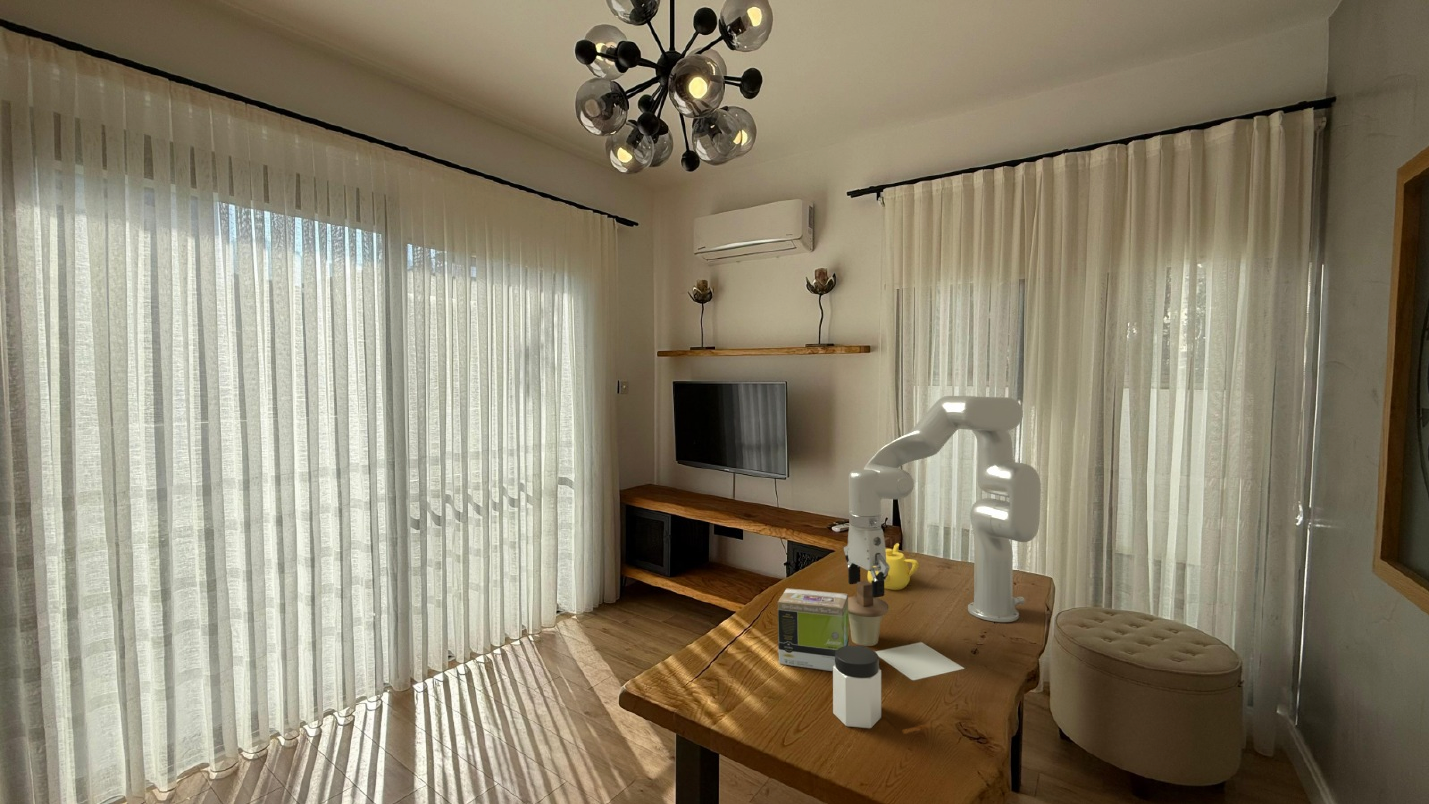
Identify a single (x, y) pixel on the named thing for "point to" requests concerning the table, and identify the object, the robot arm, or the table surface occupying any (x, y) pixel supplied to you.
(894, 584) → the teapot
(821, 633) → the tea box
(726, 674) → the table surface
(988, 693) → the table surface
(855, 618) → the flower pot
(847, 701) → the jar
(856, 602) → the lid
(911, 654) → the mat
